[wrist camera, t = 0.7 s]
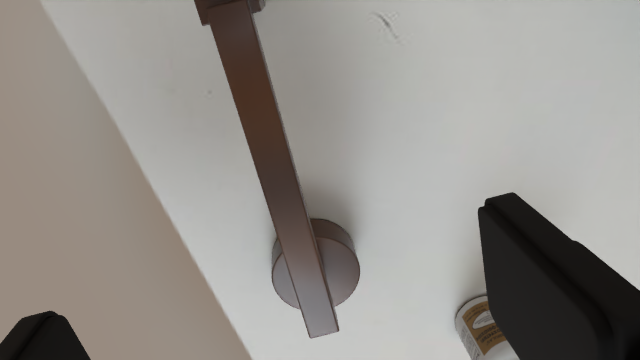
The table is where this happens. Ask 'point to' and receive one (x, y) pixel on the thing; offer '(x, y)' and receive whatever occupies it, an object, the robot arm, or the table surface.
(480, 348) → the pill bottle
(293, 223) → the ladle
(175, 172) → the table surface
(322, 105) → the table surface
